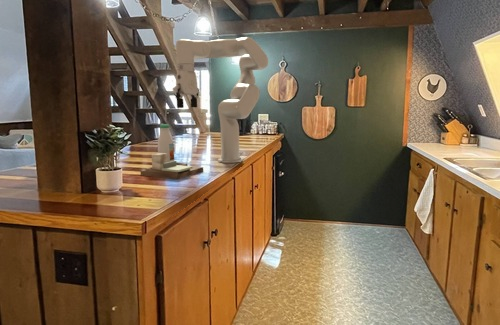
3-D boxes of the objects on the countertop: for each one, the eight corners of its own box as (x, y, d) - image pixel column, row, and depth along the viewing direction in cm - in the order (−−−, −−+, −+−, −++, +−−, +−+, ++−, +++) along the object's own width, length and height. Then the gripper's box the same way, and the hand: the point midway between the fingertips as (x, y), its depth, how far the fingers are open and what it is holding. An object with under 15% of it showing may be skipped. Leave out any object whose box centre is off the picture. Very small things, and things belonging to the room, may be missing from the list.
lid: (176, 166, 156) (175, 160, 155) (192, 168, 151) (192, 161, 151) (161, 170, 148) (161, 163, 148) (178, 172, 144) (178, 165, 143)
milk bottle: (165, 166, 173) (163, 125, 170) (155, 165, 178) (153, 124, 174) (177, 164, 179) (175, 124, 176) (167, 163, 184) (165, 123, 180)
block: (159, 168, 158) (158, 152, 156) (167, 169, 156) (166, 153, 154) (152, 170, 154) (151, 154, 153) (160, 171, 152) (159, 154, 150)
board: (169, 168, 170) (168, 161, 169) (203, 171, 160) (203, 165, 160) (140, 174, 154) (140, 168, 154) (176, 179, 145) (176, 172, 144)
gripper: (179, 66, 151) (181, 108, 154) (204, 69, 166) (205, 107, 168) (166, 67, 154) (168, 108, 157) (191, 70, 169) (192, 107, 172)
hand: (187, 107), depth 163 cm, fingers open, 9 cm apart
